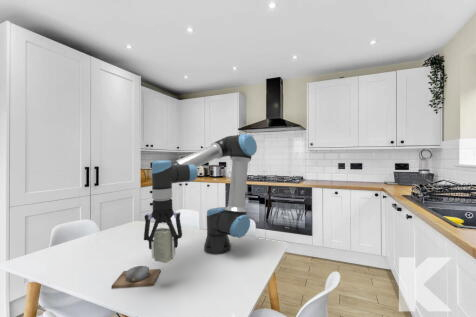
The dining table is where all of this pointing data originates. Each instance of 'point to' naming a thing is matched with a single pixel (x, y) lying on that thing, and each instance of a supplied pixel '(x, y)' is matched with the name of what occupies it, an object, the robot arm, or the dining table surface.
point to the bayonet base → (137, 284)
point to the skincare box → (163, 245)
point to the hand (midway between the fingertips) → (163, 256)
